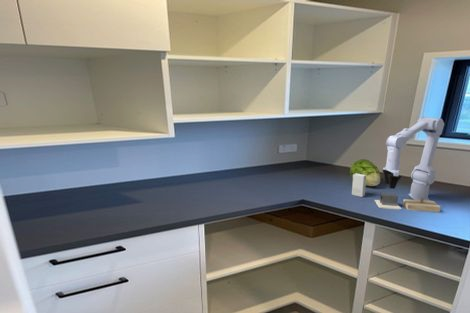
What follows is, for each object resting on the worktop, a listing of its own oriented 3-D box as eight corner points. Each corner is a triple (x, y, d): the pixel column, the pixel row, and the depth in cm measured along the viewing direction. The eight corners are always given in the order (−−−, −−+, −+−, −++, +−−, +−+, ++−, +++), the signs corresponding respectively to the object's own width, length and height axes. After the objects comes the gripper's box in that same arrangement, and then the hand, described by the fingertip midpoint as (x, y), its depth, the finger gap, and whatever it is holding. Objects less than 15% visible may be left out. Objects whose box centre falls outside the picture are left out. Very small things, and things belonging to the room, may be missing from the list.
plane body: (402, 204, 148) (404, 194, 147) (432, 206, 145) (434, 196, 144) (407, 209, 141) (409, 199, 140) (439, 212, 138) (441, 201, 137)
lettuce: (358, 193, 172) (369, 172, 164) (341, 173, 189) (351, 154, 182) (380, 195, 176) (392, 175, 169) (362, 175, 193) (372, 156, 186)
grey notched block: (379, 202, 150) (380, 192, 149) (394, 203, 148) (395, 194, 147) (381, 204, 146) (383, 195, 145) (396, 206, 144) (398, 196, 143)
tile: (374, 200, 153) (374, 199, 153) (394, 202, 151) (394, 201, 151) (379, 207, 144) (379, 206, 143) (401, 209, 141) (401, 208, 141)
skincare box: (365, 195, 161) (367, 174, 158) (362, 197, 158) (364, 176, 155) (354, 193, 165) (356, 172, 162) (350, 194, 162) (353, 174, 159)
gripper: (380, 156, 150) (377, 181, 153) (388, 162, 136) (385, 190, 139) (395, 157, 148) (391, 182, 151) (405, 163, 134) (401, 191, 137)
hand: (389, 185), depth 145 cm, fingers open, 7 cm apart
